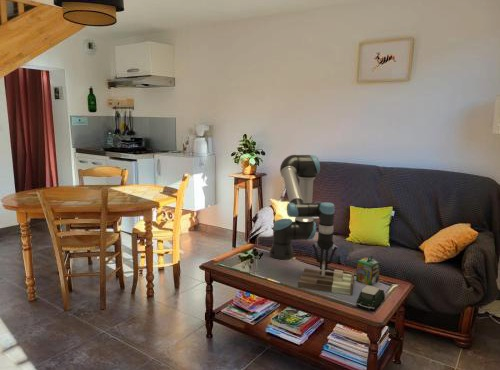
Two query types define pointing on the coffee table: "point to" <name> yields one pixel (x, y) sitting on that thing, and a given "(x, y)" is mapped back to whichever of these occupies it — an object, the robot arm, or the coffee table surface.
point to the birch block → (338, 275)
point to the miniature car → (370, 297)
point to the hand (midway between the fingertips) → (323, 275)
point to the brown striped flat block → (326, 281)
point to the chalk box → (368, 270)
